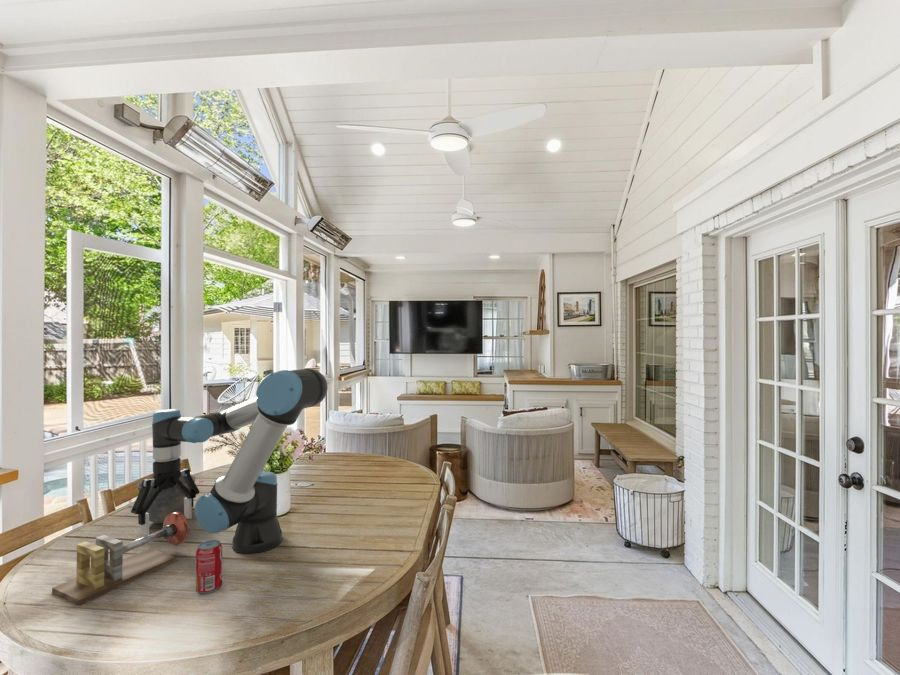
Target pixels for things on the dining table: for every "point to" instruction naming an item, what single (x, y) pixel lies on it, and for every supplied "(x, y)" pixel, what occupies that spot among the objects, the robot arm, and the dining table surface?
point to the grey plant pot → (166, 502)
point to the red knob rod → (165, 532)
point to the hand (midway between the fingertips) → (167, 526)
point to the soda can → (208, 566)
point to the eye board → (127, 573)
